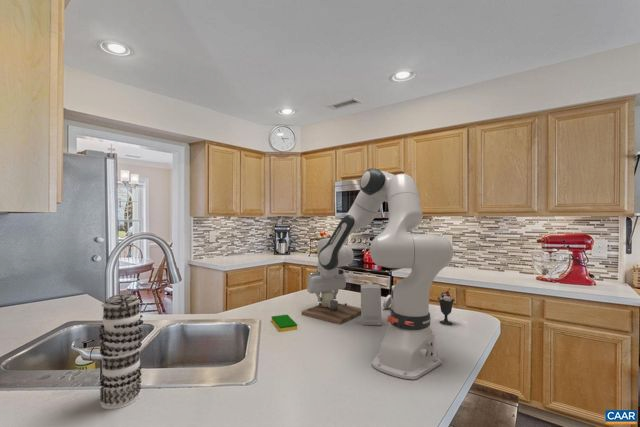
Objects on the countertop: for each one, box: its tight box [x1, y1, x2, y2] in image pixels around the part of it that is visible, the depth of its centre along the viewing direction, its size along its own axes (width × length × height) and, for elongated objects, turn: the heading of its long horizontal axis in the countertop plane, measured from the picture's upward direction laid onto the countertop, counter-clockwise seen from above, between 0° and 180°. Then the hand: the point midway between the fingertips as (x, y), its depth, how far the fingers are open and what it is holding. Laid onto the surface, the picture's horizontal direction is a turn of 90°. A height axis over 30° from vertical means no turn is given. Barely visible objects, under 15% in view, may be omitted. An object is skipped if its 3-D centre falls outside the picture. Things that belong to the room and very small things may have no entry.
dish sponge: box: [271, 314, 298, 333], centre depth 130 cm, size 7×14×2 cm, turn 22°
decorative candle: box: [98, 293, 144, 410], centre depth 78 cm, size 9×9×25 cm
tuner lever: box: [320, 291, 339, 310], centre depth 149 cm, size 11×6×6 cm, turn 26°
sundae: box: [437, 287, 456, 326], centre depth 132 cm, size 7×7×15 cm
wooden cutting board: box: [301, 302, 361, 325], centre depth 145 cm, size 21×21×2 cm
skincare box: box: [360, 283, 382, 326], centre depth 132 cm, size 8×7×16 cm
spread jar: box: [382, 284, 395, 312], centre depth 149 cm, size 12×11×12 cm
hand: (327, 300), depth 151 cm, fingers open, 6 cm apart
